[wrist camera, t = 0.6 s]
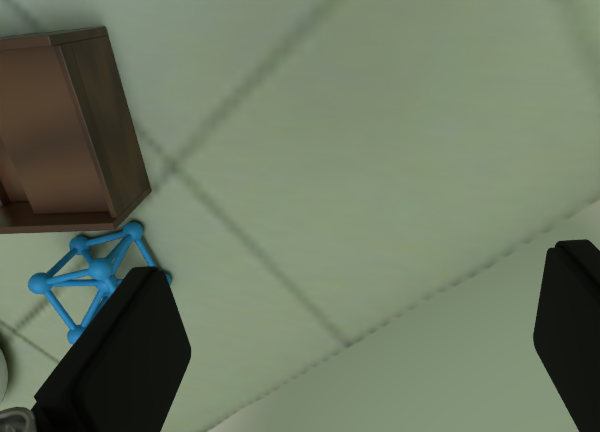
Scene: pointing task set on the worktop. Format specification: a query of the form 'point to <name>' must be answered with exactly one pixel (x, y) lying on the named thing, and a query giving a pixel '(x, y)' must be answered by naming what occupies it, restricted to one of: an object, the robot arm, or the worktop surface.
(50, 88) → the spice rack
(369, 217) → the worktop surface
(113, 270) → the molecular structure
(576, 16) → the worktop surface
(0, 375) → the bowl
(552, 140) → the worktop surface
